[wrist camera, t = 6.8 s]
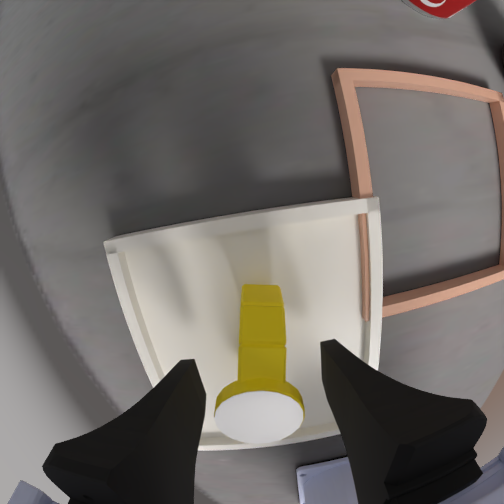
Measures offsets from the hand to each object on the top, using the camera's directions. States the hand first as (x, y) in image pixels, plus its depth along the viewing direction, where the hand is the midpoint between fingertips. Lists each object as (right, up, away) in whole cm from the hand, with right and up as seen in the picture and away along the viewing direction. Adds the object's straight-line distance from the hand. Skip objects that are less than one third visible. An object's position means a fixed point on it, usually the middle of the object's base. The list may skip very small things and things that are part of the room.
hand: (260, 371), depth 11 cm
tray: (0, 0, +3) cm, 3 cm away
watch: (0, +1, +2) cm, 3 cm away
